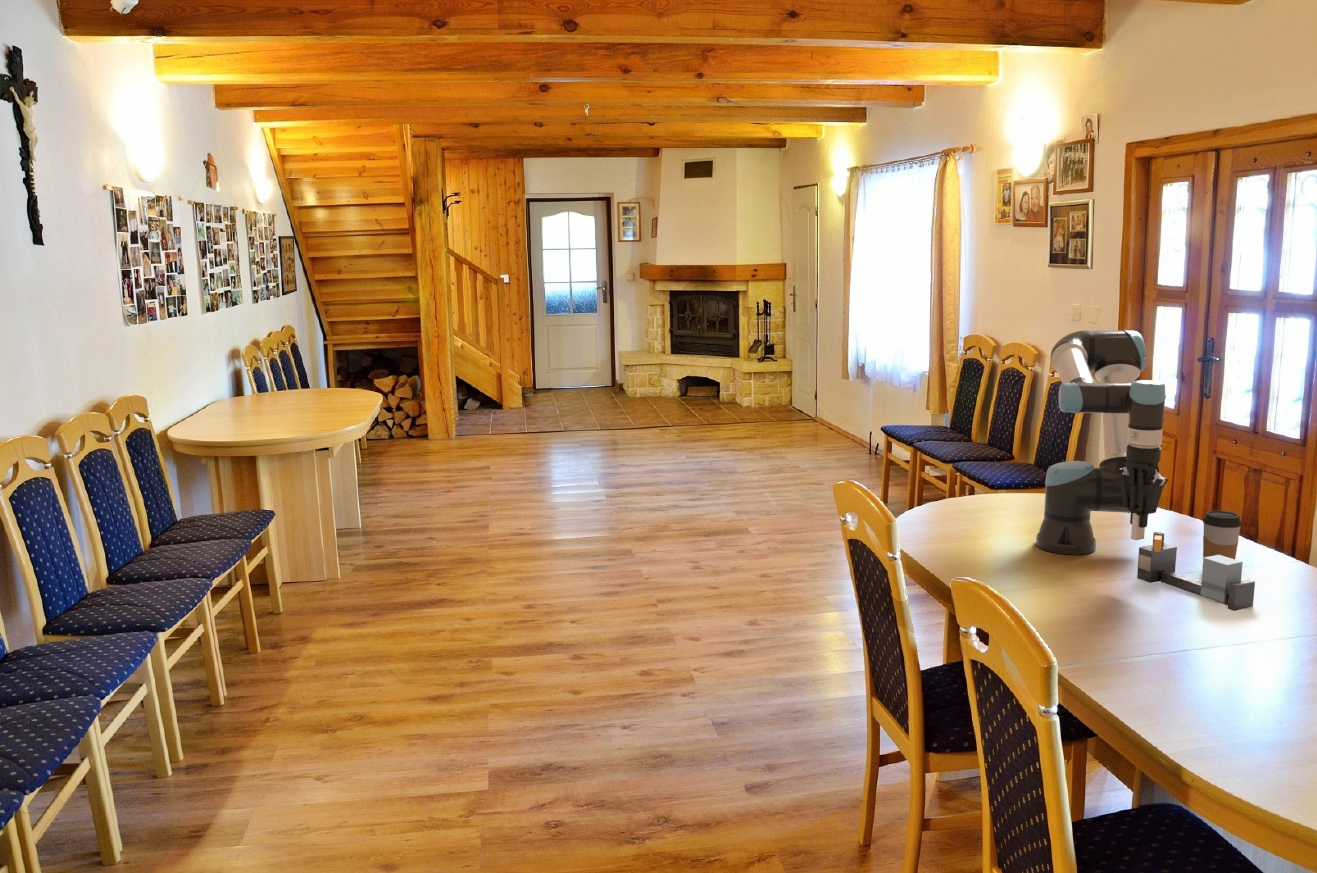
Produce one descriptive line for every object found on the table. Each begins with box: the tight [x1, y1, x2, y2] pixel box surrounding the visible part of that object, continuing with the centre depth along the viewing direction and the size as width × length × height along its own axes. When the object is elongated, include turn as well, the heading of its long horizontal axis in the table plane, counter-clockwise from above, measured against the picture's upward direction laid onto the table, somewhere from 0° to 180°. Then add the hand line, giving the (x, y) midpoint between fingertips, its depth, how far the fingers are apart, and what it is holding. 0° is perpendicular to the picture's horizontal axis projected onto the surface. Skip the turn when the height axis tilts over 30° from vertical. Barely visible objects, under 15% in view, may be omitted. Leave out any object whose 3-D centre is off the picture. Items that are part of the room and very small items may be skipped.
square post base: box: [1227, 578, 1256, 612], centre depth 221 cm, size 2×6×6 cm, turn 112°
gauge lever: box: [1152, 531, 1165, 552], centre depth 239 cm, size 2×6×3 cm, turn 150°
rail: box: [1160, 571, 1229, 606], centre depth 231 cm, size 19×2×2 cm, turn 22°
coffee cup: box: [1202, 510, 1242, 560], centre depth 244 cm, size 8×8×15 cm
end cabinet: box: [1136, 542, 1178, 584], centre depth 242 cm, size 4×8×8 cm, turn 112°
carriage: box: [1201, 555, 1243, 604], centre depth 225 cm, size 6×5×9 cm
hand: (1137, 538), depth 242 cm, fingers closed
